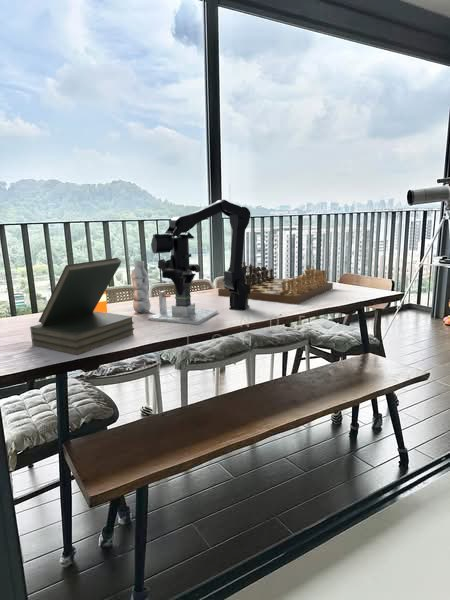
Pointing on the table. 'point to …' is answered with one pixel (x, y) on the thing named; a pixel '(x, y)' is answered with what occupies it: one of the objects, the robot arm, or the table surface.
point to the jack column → (183, 296)
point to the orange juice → (102, 304)
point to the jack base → (180, 312)
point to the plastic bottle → (140, 288)
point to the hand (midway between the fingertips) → (182, 294)
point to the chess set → (282, 285)
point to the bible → (80, 311)
